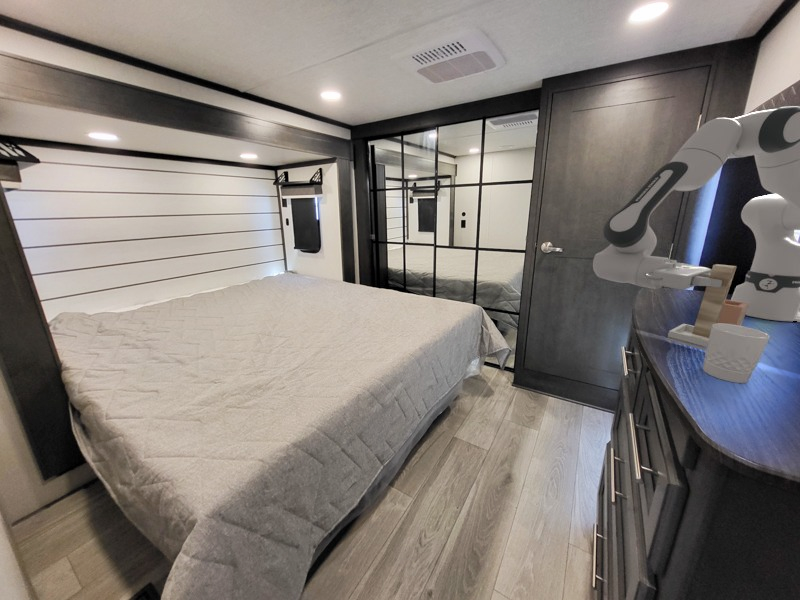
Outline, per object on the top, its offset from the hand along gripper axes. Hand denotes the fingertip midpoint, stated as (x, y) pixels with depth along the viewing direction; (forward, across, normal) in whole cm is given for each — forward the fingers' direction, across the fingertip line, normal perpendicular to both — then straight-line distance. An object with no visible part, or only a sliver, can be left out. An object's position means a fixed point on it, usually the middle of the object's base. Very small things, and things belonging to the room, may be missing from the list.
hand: (724, 282), depth 75 cm
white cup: (+7, -18, +16) cm, 25 cm away
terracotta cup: (-1, +14, +16) cm, 21 cm away
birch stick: (-1, 0, +14) cm, 14 cm away
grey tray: (-1, 0, +16) cm, 16 cm away
